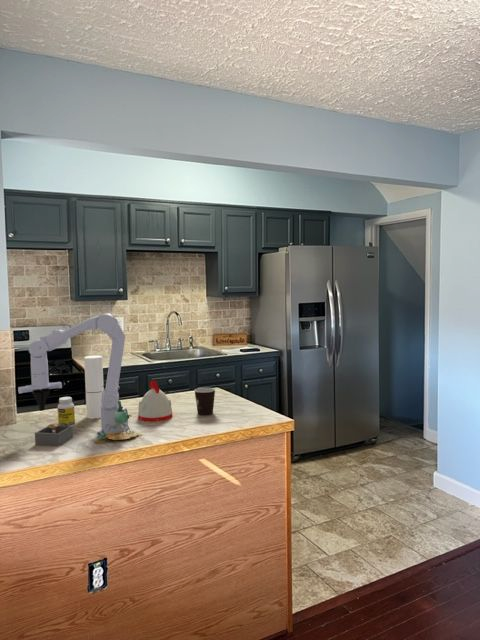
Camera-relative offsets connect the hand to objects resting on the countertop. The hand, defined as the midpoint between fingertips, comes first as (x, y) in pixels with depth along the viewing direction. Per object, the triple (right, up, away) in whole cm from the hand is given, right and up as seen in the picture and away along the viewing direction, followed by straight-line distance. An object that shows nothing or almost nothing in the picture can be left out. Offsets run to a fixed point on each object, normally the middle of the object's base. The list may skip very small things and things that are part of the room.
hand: (41, 409), depth 177 cm
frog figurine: (+28, -10, -1) cm, 30 cm away
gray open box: (+6, -10, -4) cm, 13 cm away
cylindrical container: (+12, -8, +26) cm, 30 cm away
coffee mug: (+57, -7, +30) cm, 65 cm away
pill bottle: (+4, -9, +13) cm, 17 cm away
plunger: (+6, -10, -4) cm, 13 cm away
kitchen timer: (+37, -8, +25) cm, 45 cm away
